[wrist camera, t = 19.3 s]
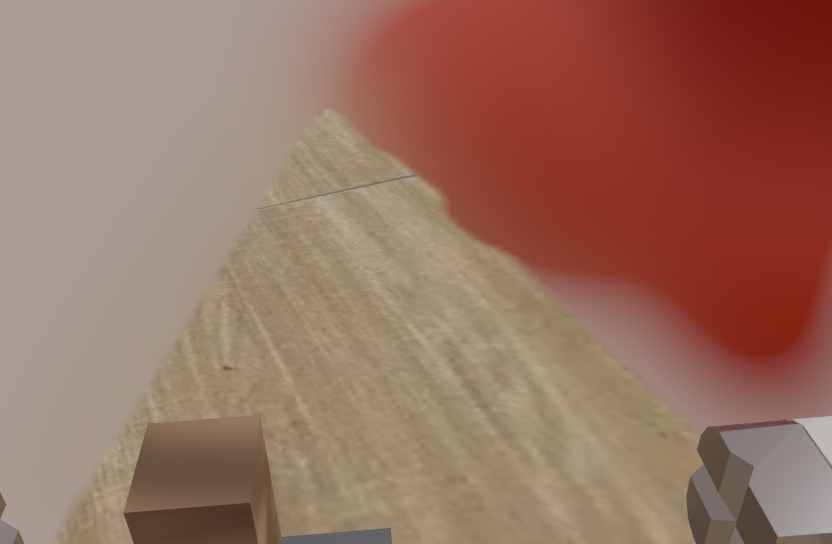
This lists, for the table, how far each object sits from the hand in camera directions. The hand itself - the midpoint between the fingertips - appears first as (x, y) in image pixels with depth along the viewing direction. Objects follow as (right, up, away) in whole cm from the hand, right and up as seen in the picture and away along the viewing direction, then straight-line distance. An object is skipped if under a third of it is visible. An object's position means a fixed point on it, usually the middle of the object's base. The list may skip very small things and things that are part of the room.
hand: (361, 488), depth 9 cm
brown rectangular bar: (-7, -17, +27) cm, 32 cm away
